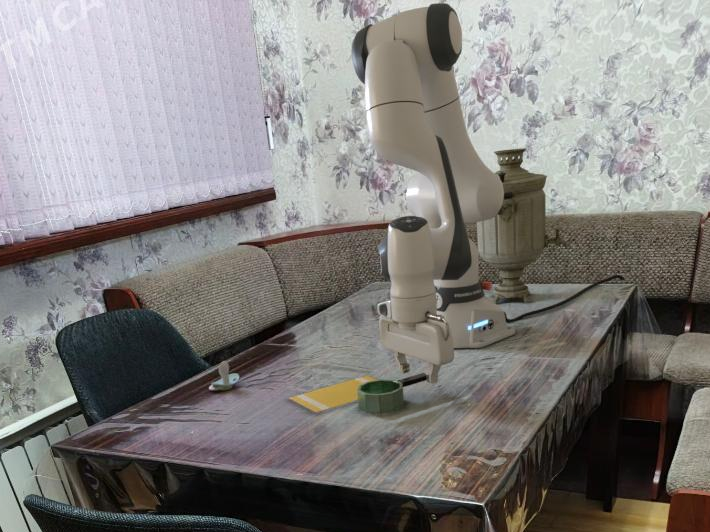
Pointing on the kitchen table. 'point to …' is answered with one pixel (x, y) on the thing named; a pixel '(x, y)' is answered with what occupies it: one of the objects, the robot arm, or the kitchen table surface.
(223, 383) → the pacifier
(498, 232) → the samovar
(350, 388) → the towel
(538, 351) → the kitchen table surface
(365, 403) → the green saucepan
